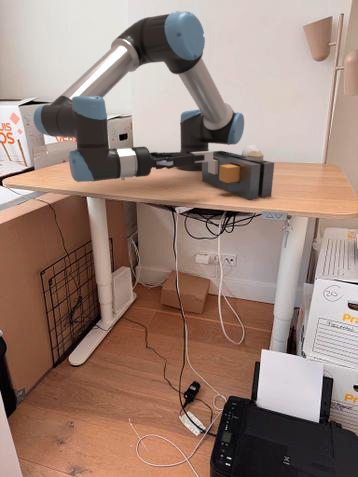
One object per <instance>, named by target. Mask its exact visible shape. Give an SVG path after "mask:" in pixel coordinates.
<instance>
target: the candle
mask: <svg viewBox="0 0 358 477" xmlns="http://www.w3.org/2000/svg"><path fill="white" fill-rule="evenodd" d="M248 157H251V158H256V159H260V160H264V154H263V152H262V151H261V150H259V151H258V152H256V151H251V152H250V153H249V154H248Z"/></svg>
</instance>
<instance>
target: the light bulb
mask: <svg viewBox="0 0 358 477" xmlns="http://www.w3.org/2000/svg"><path fill="white" fill-rule="evenodd" d="M251 151H256V152H258V151H260V150H259V149H258V147H257V145H255V144H253V143H251V144H247V145H246V146H244V147H243V149H242V151H241V155H243V156H247V157H248V154H249V153H250V152H251Z"/></svg>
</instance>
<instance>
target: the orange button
mask: <svg viewBox="0 0 358 477" xmlns="http://www.w3.org/2000/svg"><path fill="white" fill-rule="evenodd" d="M219 180H221V181H223V182H226V183H230V182H238V181H240V166H237V165H233V164H229V165H220V173H219Z"/></svg>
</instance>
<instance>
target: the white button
mask: <svg viewBox="0 0 358 477" xmlns="http://www.w3.org/2000/svg"><path fill="white" fill-rule="evenodd" d="M218 162H219V159H216V158H213V161H211V162H208V172H209V173H212V174H218Z"/></svg>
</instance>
